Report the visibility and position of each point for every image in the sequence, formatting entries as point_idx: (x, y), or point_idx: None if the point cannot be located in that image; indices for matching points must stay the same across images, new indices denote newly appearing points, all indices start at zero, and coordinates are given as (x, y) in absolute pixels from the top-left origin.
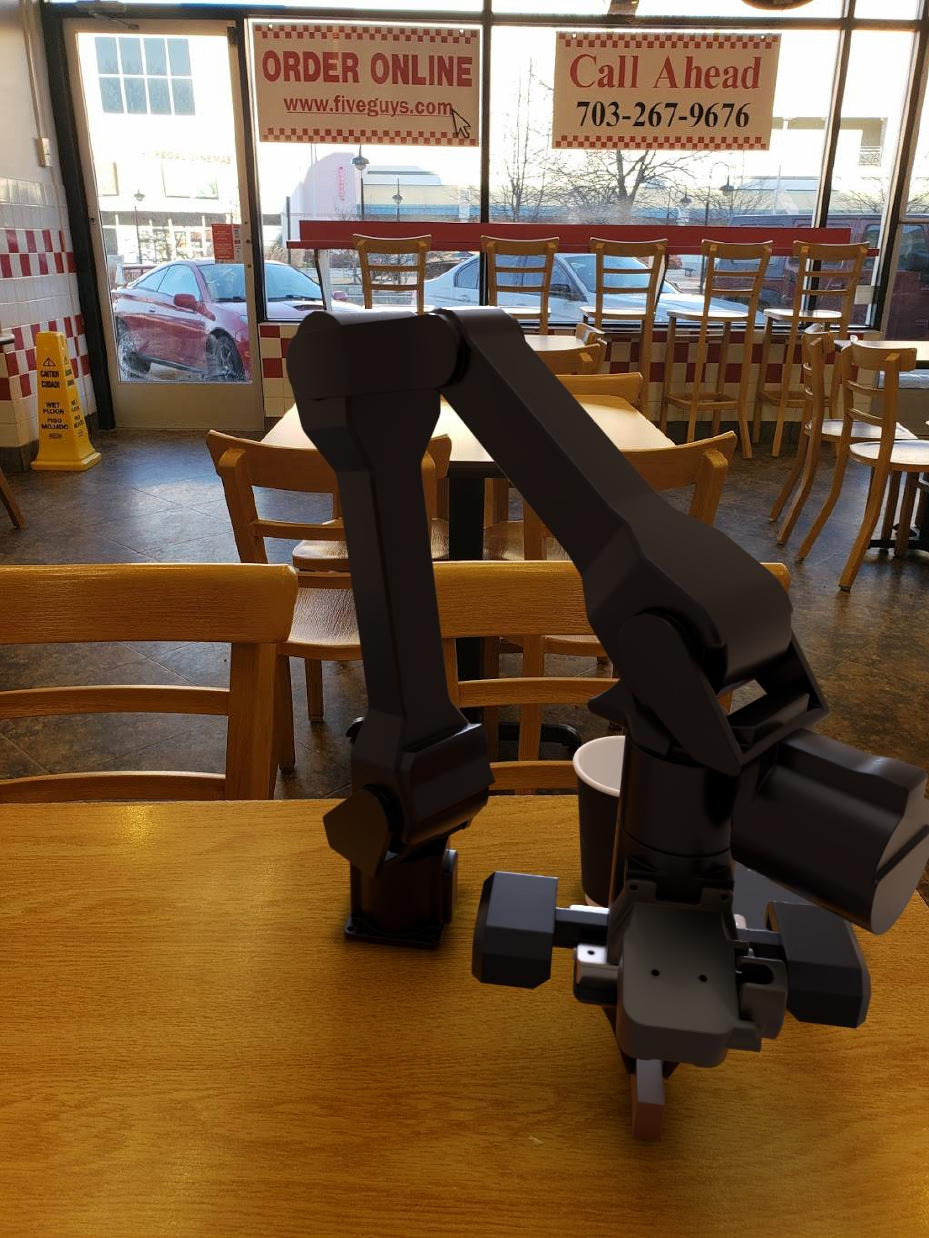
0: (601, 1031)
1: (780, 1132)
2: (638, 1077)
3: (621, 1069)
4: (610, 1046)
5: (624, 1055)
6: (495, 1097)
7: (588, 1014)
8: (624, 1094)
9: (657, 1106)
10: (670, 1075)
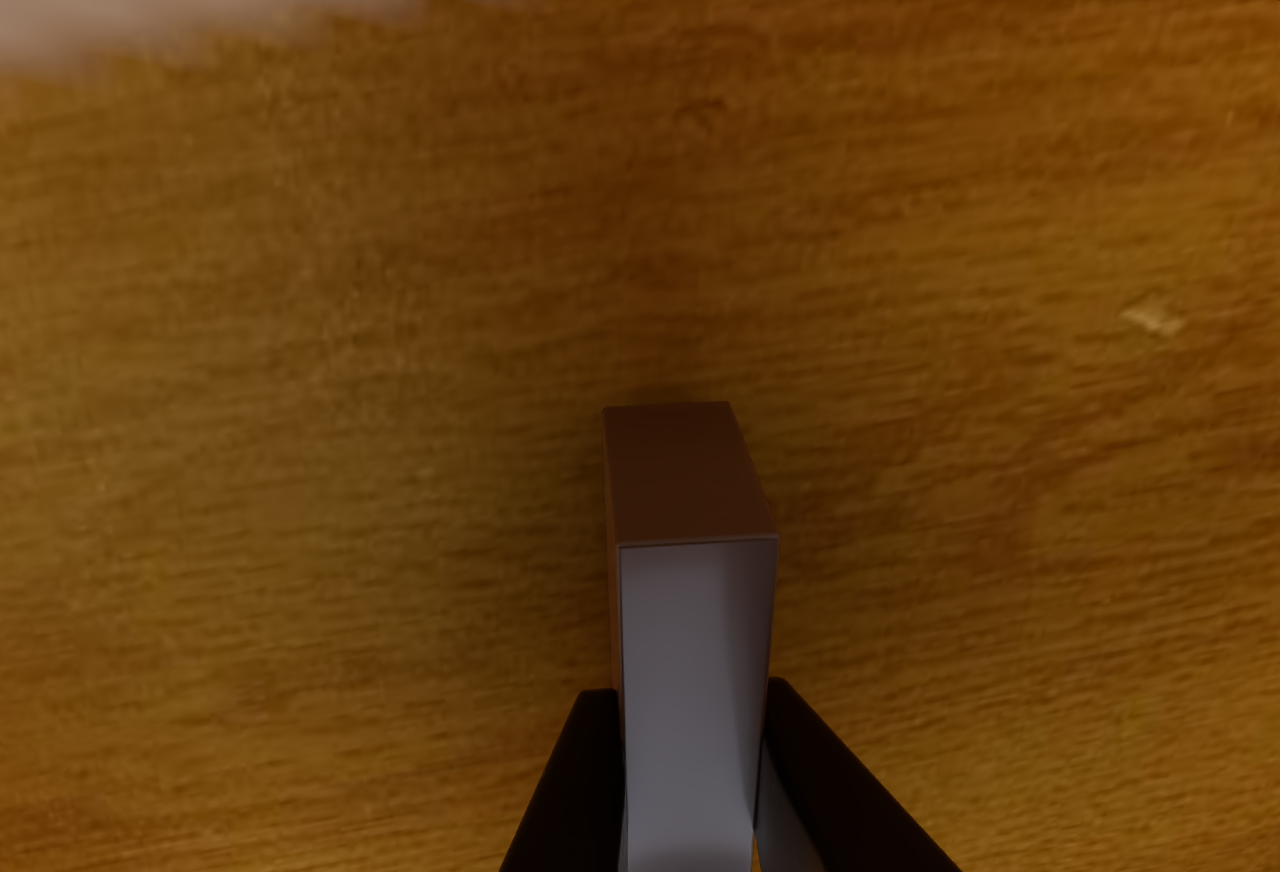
0: None
1: (69, 560)
2: (759, 670)
3: None
4: None
5: (853, 774)
6: (1277, 476)
7: None
8: None
9: (657, 533)
10: (573, 710)
